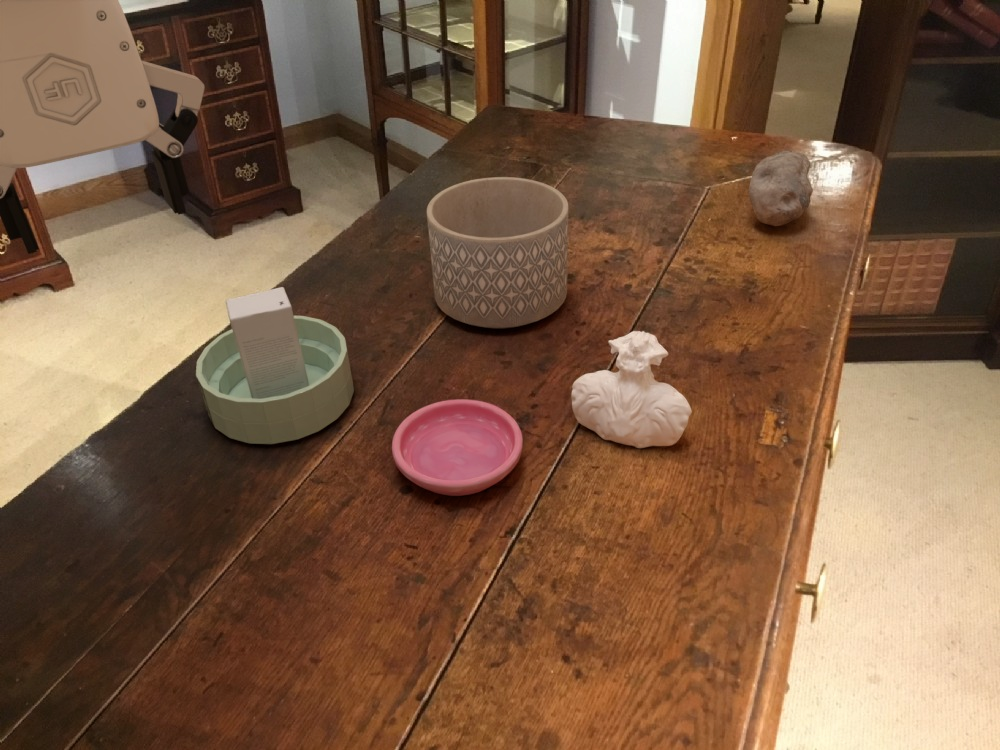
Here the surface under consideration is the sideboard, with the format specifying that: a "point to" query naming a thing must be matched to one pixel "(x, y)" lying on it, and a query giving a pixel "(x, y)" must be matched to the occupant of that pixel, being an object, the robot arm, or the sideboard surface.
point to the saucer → (457, 446)
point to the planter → (499, 251)
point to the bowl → (282, 413)
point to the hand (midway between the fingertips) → (105, 225)
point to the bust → (631, 397)
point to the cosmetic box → (268, 343)
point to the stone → (780, 188)
